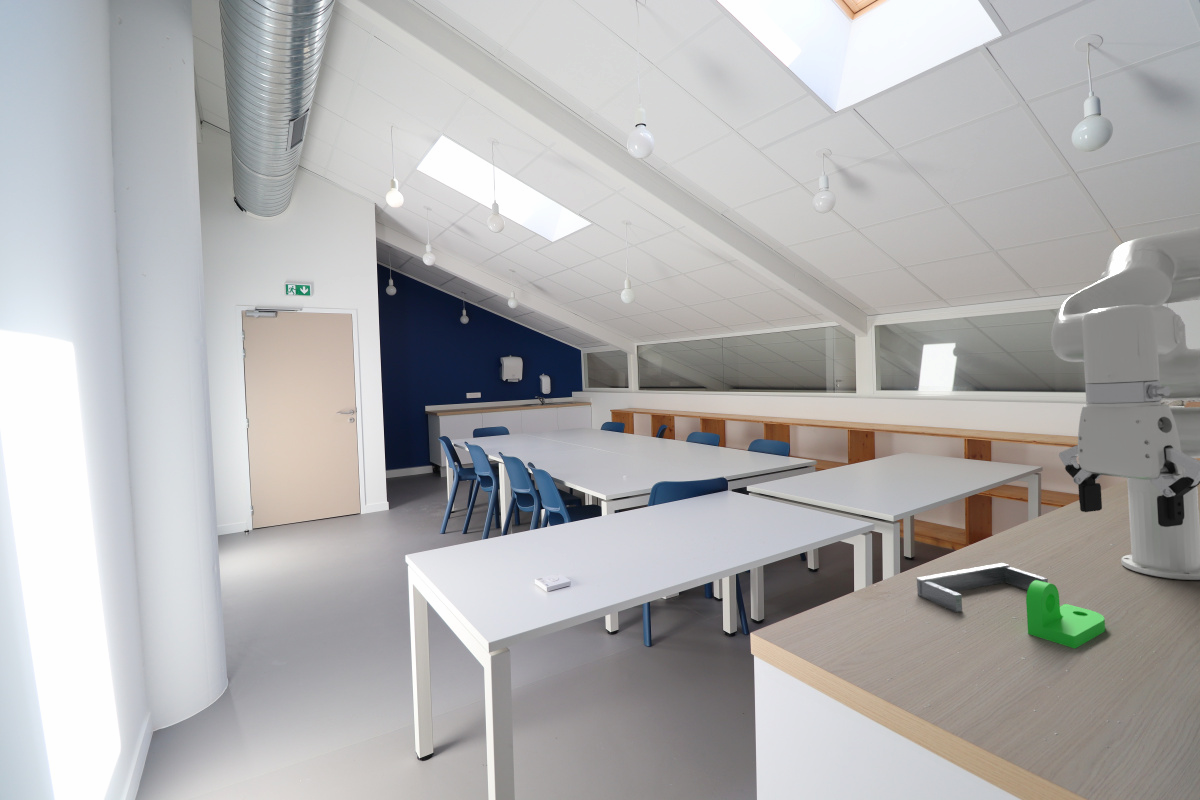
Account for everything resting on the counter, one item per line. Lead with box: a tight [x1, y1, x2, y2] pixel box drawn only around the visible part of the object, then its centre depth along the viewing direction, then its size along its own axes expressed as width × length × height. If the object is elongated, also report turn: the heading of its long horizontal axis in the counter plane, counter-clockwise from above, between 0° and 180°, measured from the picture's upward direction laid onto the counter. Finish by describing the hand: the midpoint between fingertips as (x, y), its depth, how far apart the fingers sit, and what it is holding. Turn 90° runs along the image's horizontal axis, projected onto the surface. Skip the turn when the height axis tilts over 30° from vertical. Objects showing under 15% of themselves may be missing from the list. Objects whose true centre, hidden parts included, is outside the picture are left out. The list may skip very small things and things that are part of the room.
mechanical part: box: [1025, 580, 1106, 649], centre depth 86 cm, size 12×6×8 cm, turn 117°
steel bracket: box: [916, 562, 1049, 613], centre depth 101 cm, size 20×9×3 cm, turn 103°
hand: (1128, 517), depth 76 cm, fingers open, 9 cm apart
